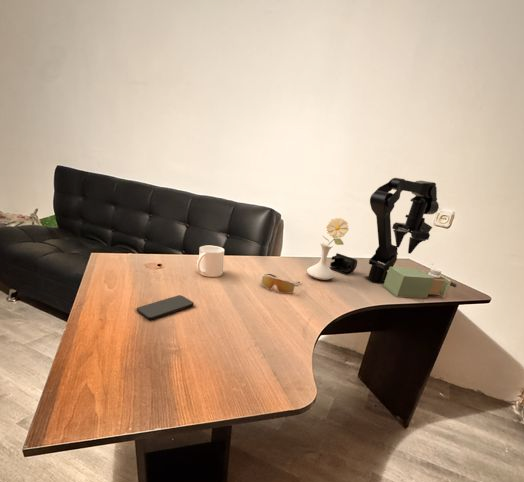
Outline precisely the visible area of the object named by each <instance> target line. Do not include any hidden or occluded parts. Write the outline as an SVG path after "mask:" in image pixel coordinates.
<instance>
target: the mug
mask: <svg viewBox="0 0 524 482" xmlns="http://www.w3.org/2000/svg"><path fill="white" fill-rule="evenodd" d="M198 251H199V254H198V256H199V257H198V258H197V261H196V266H195V267H196V271H197V272H198V273H199V274H200V275H201V276H204V277H208V278H218V277H221V276H222V275H223V274H224V263H225V262H224V261H225V259H224V258H225V248H223V247H221V246H217V245H201V246H199V250H198Z"/></svg>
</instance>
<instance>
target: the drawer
mask: <svg viewBox="0 0 524 482" xmlns="http://www.w3.org/2000/svg"><path fill="white" fill-rule="evenodd" d="M426 273H427V274H428V273H429V272H426ZM450 287H453V288H456V287H457V284H456V283H455V282H453V281H452V280H451V279H449V278H448V277H446V276H443V275H442V274H440V278H439V279H434V281H433V284H432V286H431V289H430V291H429V293H428V295H437V296H438V295H439V296H441V297H446V295H447V293H448V290H449V288H450Z"/></svg>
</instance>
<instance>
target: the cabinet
mask: <svg viewBox="0 0 524 482" xmlns="http://www.w3.org/2000/svg"><path fill="white" fill-rule="evenodd" d="M427 273H428V272H425V271H423V270H421V269H420V268H414V267H402V266H401V267H400V266H393V267H389V270H388V273H387V276H386V279H385V282H384V283H383V285H382V287H383V288H385V289H386V290H387V291H389V293H391V294H393V295H394V296H395V297H398V298H417V299H419V298H420V299H427V298H428V296H429V294H428V293H429V291H430V289H431V286H432V284H433V281H434V279H435V278H434V277H432V276H430V275H428V274H427Z"/></svg>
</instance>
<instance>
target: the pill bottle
mask: <svg viewBox="0 0 524 482" xmlns="http://www.w3.org/2000/svg"><path fill="white" fill-rule="evenodd" d="M427 273H428V275H430V276H432V277H434V278H435V279H439V278H440V275H442V270H441V269H439V268H436V267H431V268H430V269H429V272H427Z"/></svg>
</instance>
